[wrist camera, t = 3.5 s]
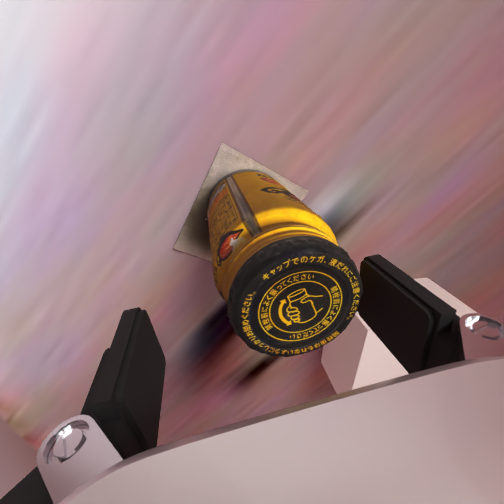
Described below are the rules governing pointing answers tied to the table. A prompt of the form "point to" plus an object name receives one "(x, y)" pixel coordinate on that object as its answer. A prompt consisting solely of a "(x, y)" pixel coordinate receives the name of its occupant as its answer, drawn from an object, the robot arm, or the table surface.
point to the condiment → (271, 258)
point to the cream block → (370, 350)
